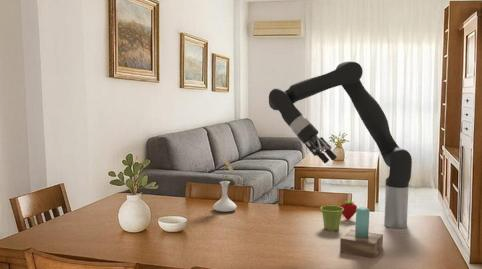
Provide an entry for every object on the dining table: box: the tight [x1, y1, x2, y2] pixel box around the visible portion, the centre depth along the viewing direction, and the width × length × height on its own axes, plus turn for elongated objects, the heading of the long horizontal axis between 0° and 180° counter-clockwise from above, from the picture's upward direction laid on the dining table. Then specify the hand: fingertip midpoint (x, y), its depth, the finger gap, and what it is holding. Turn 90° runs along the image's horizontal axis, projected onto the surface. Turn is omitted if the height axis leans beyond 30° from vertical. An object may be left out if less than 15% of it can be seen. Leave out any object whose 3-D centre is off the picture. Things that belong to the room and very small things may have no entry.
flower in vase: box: [212, 157, 238, 213], centre depth 221 cm, size 13×11×25 cm
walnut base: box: [339, 229, 384, 259], centre depth 168 cm, size 12×12×5 cm
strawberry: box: [339, 200, 358, 221], centre depth 206 cm, size 6×8×10 cm
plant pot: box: [320, 204, 344, 232], centre depth 193 cm, size 9×9×9 cm
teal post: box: [354, 207, 371, 238], centre depth 167 cm, size 5×5×10 cm
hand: (331, 160), depth 178 cm, fingers open, 8 cm apart
